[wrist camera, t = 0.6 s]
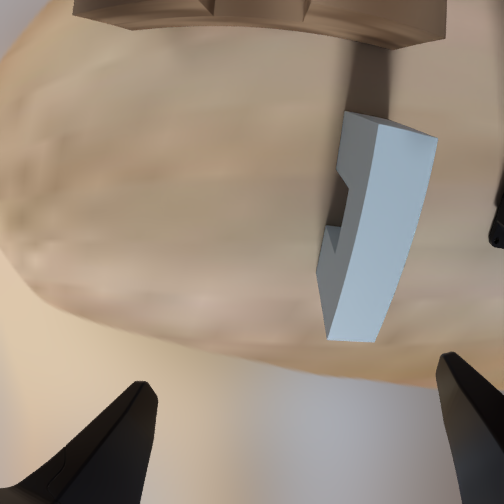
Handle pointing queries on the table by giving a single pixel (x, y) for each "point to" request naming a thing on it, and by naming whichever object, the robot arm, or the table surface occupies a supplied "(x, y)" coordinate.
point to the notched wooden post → (284, 17)
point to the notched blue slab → (372, 223)
